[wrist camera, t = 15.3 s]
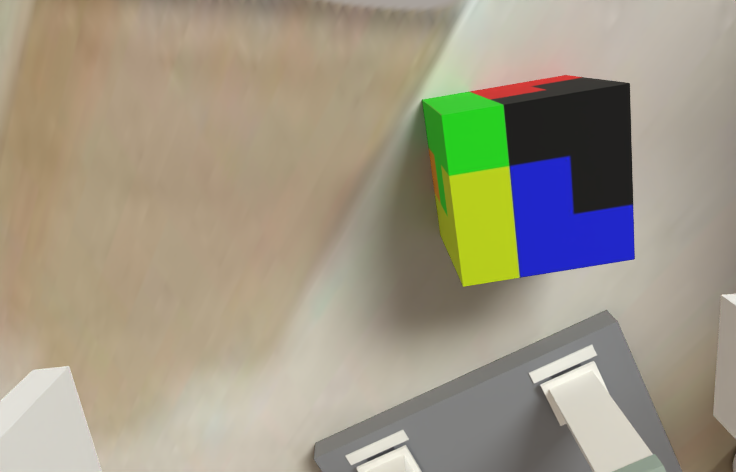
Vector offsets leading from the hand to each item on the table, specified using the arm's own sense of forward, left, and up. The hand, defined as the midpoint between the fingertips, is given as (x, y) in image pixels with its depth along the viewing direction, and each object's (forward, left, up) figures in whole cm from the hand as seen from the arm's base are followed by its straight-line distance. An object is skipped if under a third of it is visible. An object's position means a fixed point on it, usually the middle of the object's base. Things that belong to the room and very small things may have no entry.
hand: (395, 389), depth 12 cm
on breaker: (-13, +21, -29) cm, 38 cm away
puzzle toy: (-9, +2, -31) cm, 33 cm away
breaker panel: (-7, +27, -31) cm, 42 cm away
